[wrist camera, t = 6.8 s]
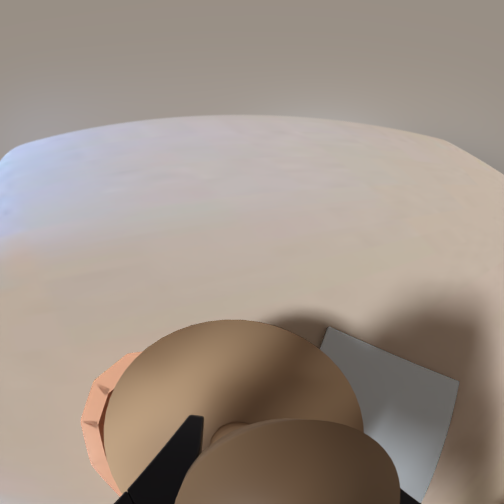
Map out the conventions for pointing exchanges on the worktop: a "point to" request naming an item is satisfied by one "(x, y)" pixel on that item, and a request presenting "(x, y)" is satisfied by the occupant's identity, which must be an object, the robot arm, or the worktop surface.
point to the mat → (397, 406)
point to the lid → (248, 419)
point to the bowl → (102, 417)
